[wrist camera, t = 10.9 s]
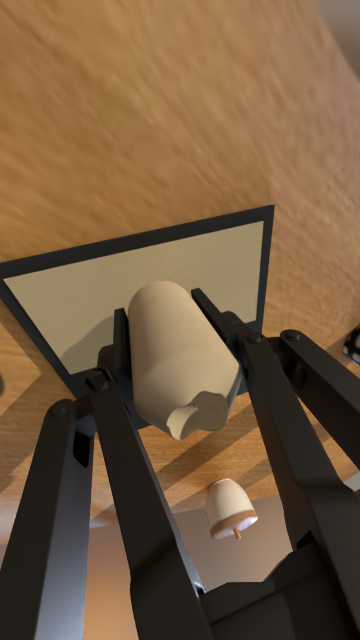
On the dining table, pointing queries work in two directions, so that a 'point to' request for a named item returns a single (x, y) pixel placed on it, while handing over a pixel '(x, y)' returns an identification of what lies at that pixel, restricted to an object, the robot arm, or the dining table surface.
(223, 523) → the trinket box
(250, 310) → the table mat
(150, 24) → the dining table surface
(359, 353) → the spotted tube
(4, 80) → the dining table surface
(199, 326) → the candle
